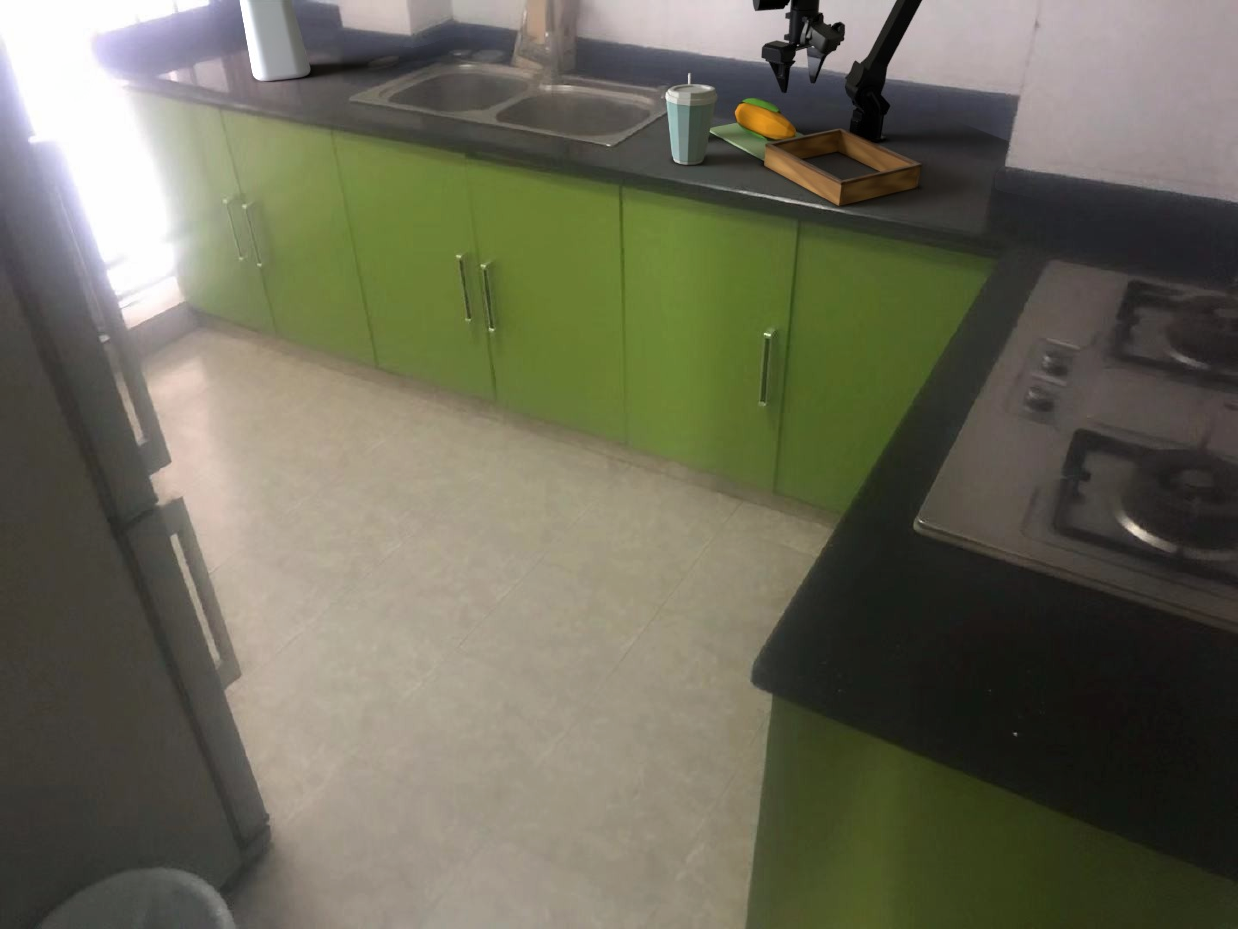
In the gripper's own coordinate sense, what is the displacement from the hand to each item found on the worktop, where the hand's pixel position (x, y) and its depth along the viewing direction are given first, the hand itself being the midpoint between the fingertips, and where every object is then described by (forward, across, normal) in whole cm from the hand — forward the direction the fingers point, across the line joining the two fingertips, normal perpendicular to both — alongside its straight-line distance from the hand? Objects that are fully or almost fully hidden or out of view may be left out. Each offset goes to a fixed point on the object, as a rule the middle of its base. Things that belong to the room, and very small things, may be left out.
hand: (798, 87), depth 200 cm
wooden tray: (+12, -9, -19) cm, 24 cm away
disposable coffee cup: (+12, -24, +9) cm, 28 cm away
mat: (+12, -2, +6) cm, 13 cm away
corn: (+11, -2, +6) cm, 13 cm away
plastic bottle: (+10, -56, +136) cm, 147 cm away
